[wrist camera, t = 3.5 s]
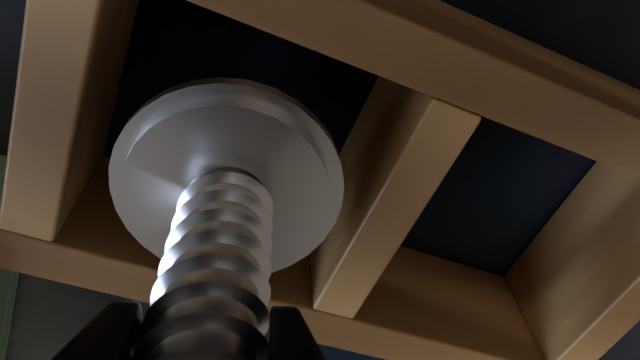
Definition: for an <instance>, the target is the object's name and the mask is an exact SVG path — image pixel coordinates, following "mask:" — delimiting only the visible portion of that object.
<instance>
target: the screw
mask: <svg viewBox="0 0 640 360" xmlns="http://www.w3.org/2000/svg"><path fill="white" fill-rule="evenodd" d="M108 168H109V190H110V193H111V197H112V200H113V203H114V207H115V210H116V212H117V213H118V215H119V217H120V218H121V220H122V222H123V223H124V225H125V227H126V229H127V230H128V231H129V232H130V233H131V234H132V235H133V236H134V237H135V238H136V239H137V241H138V242H139V243H140V244H141V245H142V246H144V247H145V248H146V249H148V250H149V251H150V252H152V253H153V254H154V255H156V256H157V257H158V258H160V259H161V262H160V264H159V267H158V279H157V281H156V282H155V284H154V286H153V288H152V291H151V295H150V308H149V309H148V311H147V312H146V314H145V316H144V319H143V322H142V335H143V338H142V339H141V340H140V341H139V342H138V344H137V346H136V348H135V350H134V353H133V356H132V360H267V354H268V343H267V340H266V339H265V337H264V335H265V334H266V333H267V331H268V328H269V316H270V315H269V312H268V309H267V305H268V303H269V300H270V297H271V289H270V284H269V282H268V280H269V278H270V275H271V273H273V272H275V271H278V270H281V269H283V268H286V267H289V266H291V265H292V264H294V263H296V262H297V261H299V260H301V259H302V258H304V257H306V256H307V255H309V254H310V253H311V252H312V251H313V250H314V249H315V248H316V247H317V246H318V245H319V244H321V243H322V242H323V241H324V239H325V238H326V236H327V235H328V233H329V232H330V231H331V229H332V228H333V226H334V225H335V223H336V220H337V217H338V215H339V212H340V210H341V207H342V202H343V193H344V179H343V172H342V165H341V159H340V155H339V153H338V151H337V148H336V146H335V143H334V141H333V139H332V136H331V135H330V134H329V132H328V131H327V129H326V128H325V127H324V125H323V124H322V123H321V121H320V120H319V119H318V117H317V116H316V115H314V114H313V113H312V112H311V111H310V110H309V109H307V108H306V107H305V106H304V105H303V104H302V103H301V102H299V101H298V100H296V99H295V98H293V97H291V96H289V95H287V94H285V93H284V92H282V91H280V90H278V89H276V88H274V87H271V86H267V85H264V84H261V83H258V82H254V81H251V80H247V79H236V78H226V77H216V78H206V79H197V80H191V81H188V82H185V83H182V84H179V85H176V86H173V87H170V88H167V89H166V90H164V91H162V92H161V93H159V94H158V95H156V96H154V97H153V98H151V99H149V100H148V101H146V102H145V103H144V104H143V105H142V106H141V107H140V108H139V109H138V110H137V111H136V112H135V113H134V114H133V115H132V116H131V117H130V118H129V120H128V121H127V123H126V125H125V127H124V129H123V130H122V132H121V134H120V136H119V137H118V139H117V141H116V143H115V144H114V147H113V151H112V155H111V159H110V163H109V167H108Z"/></svg>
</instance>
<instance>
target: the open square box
mask: <svg viewBox="0 0 640 360" xmlns="http://www.w3.org/2000/svg"><path fill="white" fill-rule="evenodd" d="M6 161H7V156H5V155H1V154H0V209H1V201H2V193H3V185H4V177H5V169H6ZM18 279H19V272H15V271H11V270H7V269H2V268H0V360H6V355H7V348H8V342H9V336H10V329H11V323H12V317H13V311H14V304H15V298H16V292H17V286H18Z"/></svg>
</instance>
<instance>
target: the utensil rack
mask: <svg viewBox="0 0 640 360" xmlns="http://www.w3.org/2000/svg"><path fill="white" fill-rule="evenodd" d="M187 1H189V2H192V3H194V4H197V5H199V6H202V7H204V8H207V9H210V10H212V11H215V12H217V13H220V14H222V15H225V16H227V17H230V18H233V19H235V20H238V21H240V22H243V23H245V24H248V25H250V26H253V27H256V28H258V29H261V30H263V31H266V32H268V33H271V34H273V35H276V36H279V37H281V38H284V39H286V40H289V41H291V42H294V43H296V44H299V45H302V46H304V47H307V48H309V49H312V50H314V51H317V52H319V53H322V54H325V55H327V56H330V57H332V58H335V59H337V60H340V61H342V62H345V63H348V64H350V65H353V66H355V67H358V68H360V69H363V70H365V71H368V72H371V73H373V74H376V75H378V78H377V80H376V82H375V84H374V86H373V88H372V90H371V92H370V94H369V96H368V98H367V100H366V102H365V104H364V106H363V108H362V110H361V112H360V114H359V116H358V118H357V120H356V122H355V124H354V126H353V128H352V130H351V132H350V134H349V136H348V138H347V140H346V142H345V144H344V146H343V148H342V149H341V151H340V153H339V155H340V159H341V165H342V172H343V179H344V193H343V202H342V207H341V210H340V212H339V215H338V217H337V220H336V223H335V225H334V226H333V228H332V229H331V231H330V232H329V233H328V235H327V236H326V238H325V239H324V241H323V242H322V243H321V244H319V245H318V246H317V247H316V248H315V249H314V250H313V251H312V252H311V253H310V254H309V255H307V256H306V257H304V258H302V259H301V260H299V261H297V262H296V263H294V264H292V265H291V266H289V267H286V268H283V269H281V270H278V271H275V272H273V273H271V275H270V278H269V280H268V282H269V284H270V289H271V297H270V300H269V303H268V305H267V309H268V312H269V315H270V309H271V307H273V306H295V307H297V308H298V309H299V310H300V312H301V314H302V315H303V317H304V319H305V321H306V323H307V325H308V327H309V329H310V331H311V333H312V335H313V336H314V338H315V340H316V342H317V343H318V344H322V345H327V346H331V347H335V348H339V349H343V350H348V351H352V352H356V353H360V354H364V355H369V356H373V357H377V358H381V359H386V360H598V359H599V358H600V357H602V356H603V355H604V354H605V353H606V352H607V351H608V350H609V349H610V348H611V347H612V346H613V345H614V344H615V343H616V342H617V341H618V340H619V339H621V338H622V337H623V336H624V335H625V334H626V333H627V332H628V331H629V330H630V329H631V328H632V327H633V326H634V325H635V324H636V323H637V322H638V321H639V320H640V90H639V89H637V88H634V87H632V86H630V85H628V84H625V83H623V82H621V81H619V80H616V79H614V78H612V77H610V76H607V75H605V74H603V73H601V72H599V71H596V70H594V69H592V68H590V67H587V66H585V65H583V64H581V63H578V62H576V61H574V60H572V59H569V58H567V57H565V56H563V55H561V54H558V53H556V52H554V51H552V50H549V49H547V48H545V47H543V46H540V45H538V44H536V43H534V42H531V41H529V40H527V39H525V38H523V37H520V36H518V35H516V34H514V33H511V32H509V31H507V30H505V29H502V28H500V27H498V26H496V25H493V24H491V23H489V22H487V21H484V20H482V19H480V18H478V17H476V16H473V15H471V14H469V13H467V12H464V11H462V10H460V9H458V8H455V7H453V6H451V5H449V4H446V3H444V2H442V1H440V0H187ZM138 2H139V0H26V7H25V15H24V23H23V31H22V39H21V47H20V55H19V64H18V72H17V80H16V88H15V96H14V104H13V112H12V120H11V128H10V136H9V144H8V153H7V161H6V169H5V177H4V185H3V193H2V201H1V209H0V268H2V269H7V270H11V271H15V272H19V273H23V274H28V275H32V276H36V277H40V278H44V279H49V280H53V281H57V282H61V283H65V284H70V285H74V286H78V287H82V288H87V289H91V290H95V291H99V292H103V293H108V294H112V295H116V296H120V297H124V298H129V299H133V300H137V301H141V302H145V303H150V295H151V291H152V288H153V286H154V284H155V282H156V281H157V279H158V267H159V264H160V262H161V259H160V258H158V257H157V256H156V255H154V254H153V253H152V252H150V251H149V250H148V249H146V248H145V247H144V246H142V245H141V244H140V243H139V242H138V241H137V239H136V238H135V237H134V236H133V235H132V234H131V233H130V232H129V231H128V230H127V229H126V227H125V225H124V223H123V222H122V220H121V218H120V217H119V215H118V213H117V212H116V210H115V207H114V203H113V200H112V197H111V193H110V190H109V168H108V167H109V163H110V159H111V158H109V157H106V156H102V155H103V152H104V148H105V144H106V139H107V135H108V131H109V126H110V122H111V118H112V114H113V109H114V105H115V101H116V97H117V92H118V88H119V84H120V79H121V75H122V71H123V67H124V62H125V58H126V54H127V50H128V45H129V41H130V37H131V32H132V28H133V24H134V20H135V15H136V11H137V7H138ZM481 116H483V117H486V118H488V119H491V120H493V121H496V122H498V123H501V124H503V125H506V126H509V127H511V128H514V129H516V130H519V131H521V132H524V133H526V134H529V135H532V136H534V137H537V138H539V139H542V140H544V141H547V142H549V143H552V144H555V145H557V146H560V147H562V148H565V149H567V150H570V151H572V152H575V153H578V154H580V155H583V156H585V157H588V158H590V159H593V160H595V161H596V163H595V164H594V165H593V166H592V167H591V169H590V170H589V171H588V172H587V174H586V175H585V176H584V177H583V179H582V180H581V181H580V182H579V184H578V185H577V186H576V187H575V188H574V190H573V191H572V192H571V193H570V195H569V196H568V197H567V198H566V200H565V201H564V202H563V203H562V205H561V206H560V207H559V208H558V209H557V211H556V212H555V213H554V214H553V216H552V217H551V218H550V219H549V221H548V222H547V223H546V224H545V226H544V227H543V228H542V229H541V230H540V232H539V233H538V234H537V235H536V237H535V238H534V239H533V240H532V242H531V243H530V244H529V245H528V247H527V248H526V249H525V250H524V251H523V253H522V254H521V255H520V256H519V258H518V259H517V260H516V261H515V263H514V264H513V265H512V266H511V267H510V269H509V270H508V271H507V272H506V274H505V276H504V277H503V276H500V275H496V274H493V273H490V272H486V271H483V270H480V269H476V268H473V267H470V266H466V265H463V264H460V263H457V262H453V261H450V260H447V259H443V258H440V257H437V256H433V255H430V254H427V253H423V252H420V251H417V250H413V249H410V248H407V247H404V246H400V245H401V244H402V242H403V241H404V239H405V237H406V236H407V234H408V233H409V231H410V230H411V228H412V227H413V225H414V223H415V222H416V220H417V219H418V217H419V216H420V214H421V213H422V211H423V210H424V208H425V206H426V205H427V203H428V202H429V200H430V199H431V197H432V196H433V194H434V192H435V191H436V189H437V188H438V186H439V185H440V183H441V182H442V180H443V178H444V177H445V175H446V174H447V172H448V171H449V169H450V168H451V166H452V165H453V163H454V161H455V160H456V158H457V157H458V155H459V154H460V152H461V151H462V149H463V147H464V146H465V144H466V143H467V141H468V140H469V138H470V137H471V135H472V134H473V132H474V130H475V129H476V127H477V126H478V124H479V123H480V121H481ZM268 329H269V328H268Z"/></svg>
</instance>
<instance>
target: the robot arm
mask: <svg viewBox="0 0 640 360" xmlns="http://www.w3.org/2000/svg"><path fill="white" fill-rule="evenodd" d="M142 322H143V313H142V307H141V304H140V303H139V302H137V301H112V302H110V303H108V304H107V305H106V306H105V307H104V308H103V309H102V310H101V311H100V312H99V313H98V314H97V315H96V316H95V317H94V318H93V319H92V320H91V321H90V322H89V323H88V324H87V325H86V326H85V327H84V328H83V329H82V330H81V331H80V332H79V333H78V334H77V335H76V336H75V337H74V338H73V339H72V340H71V341H70V342H69V343H68V344H67V345H66V346H65V347H64V348H63V349H61V350H60V351H59V352H58V353H57V354H56V355H55V356H54V357H53V358H52V359H51V360H132V356H133V353H134V350H135V348H136V346H137V344H138V342H139V341H140V340H141V339H142V338H143V335H142ZM267 360H326V359H325V357H324V355H323V354H322V352H321V350H320V348H319V346H318V344H317V342H316V340H315V338H314V336H313V335H312V333H311V331H310V329H309V327H308V325H307V323H306V321H305V319H304V317H303V315H302V314H301V312H300V310H299V309H298V308H297V307H295V306H273V307H271V309H270V316H269V329H268V354H267Z"/></svg>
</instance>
